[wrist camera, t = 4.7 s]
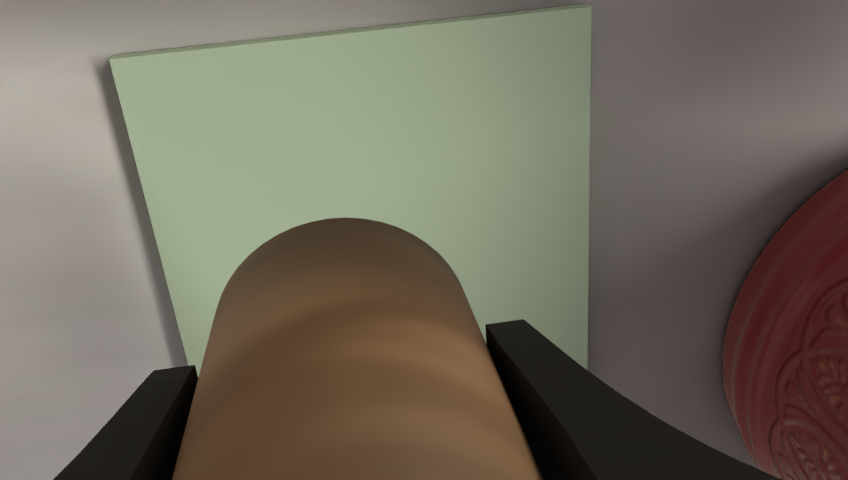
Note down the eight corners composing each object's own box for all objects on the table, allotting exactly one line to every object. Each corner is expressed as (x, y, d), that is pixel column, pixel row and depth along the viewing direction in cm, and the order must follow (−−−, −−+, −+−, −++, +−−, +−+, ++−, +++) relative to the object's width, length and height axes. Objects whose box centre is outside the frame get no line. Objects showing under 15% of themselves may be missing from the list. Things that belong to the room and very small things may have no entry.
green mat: (584, 3, 18) (591, 6, 18) (581, 381, 23) (587, 391, 22) (114, 55, 17) (108, 59, 17) (212, 438, 22) (210, 449, 21)
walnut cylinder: (463, 202, 12) (582, 414, 7) (477, 424, 14) (582, 740, 9) (189, 235, 12) (83, 490, 6) (237, 460, 14) (187, 815, 8)
